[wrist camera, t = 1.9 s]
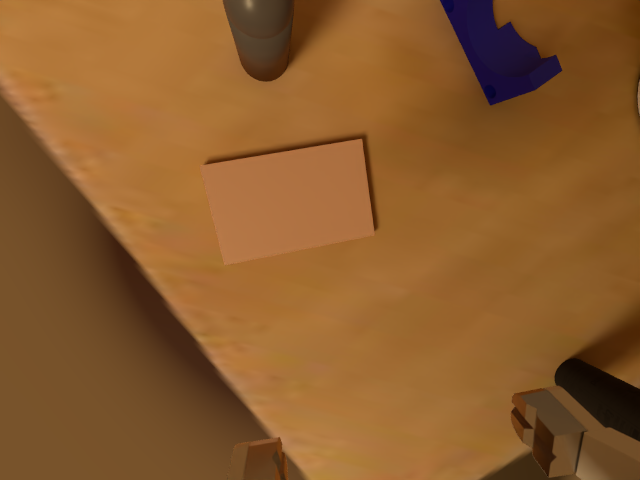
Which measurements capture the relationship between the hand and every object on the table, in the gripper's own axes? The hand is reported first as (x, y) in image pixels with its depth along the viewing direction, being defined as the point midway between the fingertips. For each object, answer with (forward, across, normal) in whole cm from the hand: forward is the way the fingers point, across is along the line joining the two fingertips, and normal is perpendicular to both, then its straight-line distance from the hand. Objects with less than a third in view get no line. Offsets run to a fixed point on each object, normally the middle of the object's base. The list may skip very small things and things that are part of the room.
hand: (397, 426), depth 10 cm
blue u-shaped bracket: (+28, -19, -16) cm, 37 cm away
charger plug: (+25, +4, -17) cm, 31 cm away
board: (+24, +3, -4) cm, 24 cm away
